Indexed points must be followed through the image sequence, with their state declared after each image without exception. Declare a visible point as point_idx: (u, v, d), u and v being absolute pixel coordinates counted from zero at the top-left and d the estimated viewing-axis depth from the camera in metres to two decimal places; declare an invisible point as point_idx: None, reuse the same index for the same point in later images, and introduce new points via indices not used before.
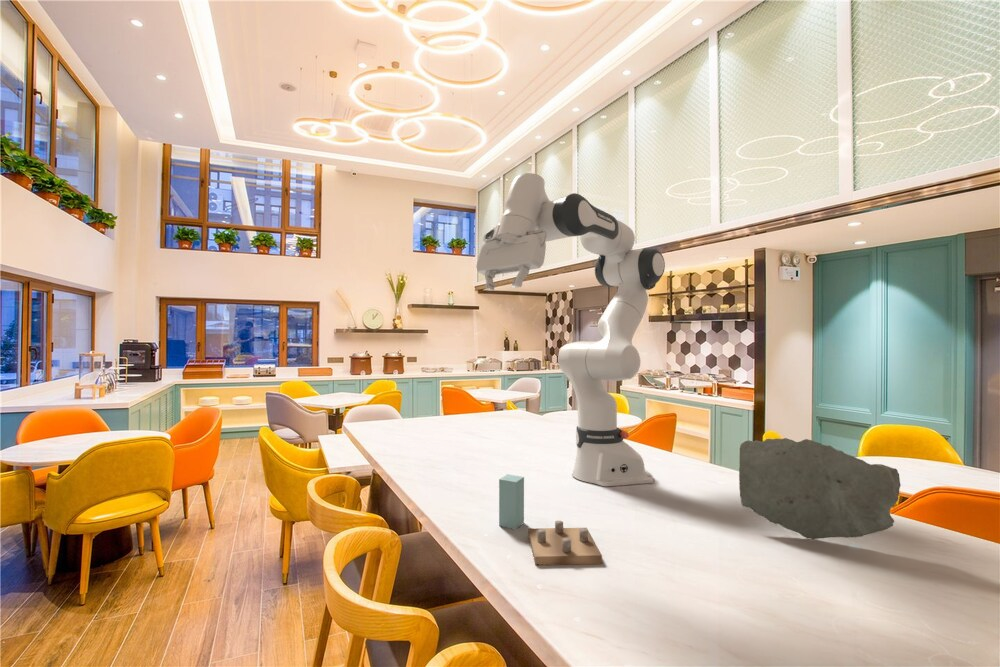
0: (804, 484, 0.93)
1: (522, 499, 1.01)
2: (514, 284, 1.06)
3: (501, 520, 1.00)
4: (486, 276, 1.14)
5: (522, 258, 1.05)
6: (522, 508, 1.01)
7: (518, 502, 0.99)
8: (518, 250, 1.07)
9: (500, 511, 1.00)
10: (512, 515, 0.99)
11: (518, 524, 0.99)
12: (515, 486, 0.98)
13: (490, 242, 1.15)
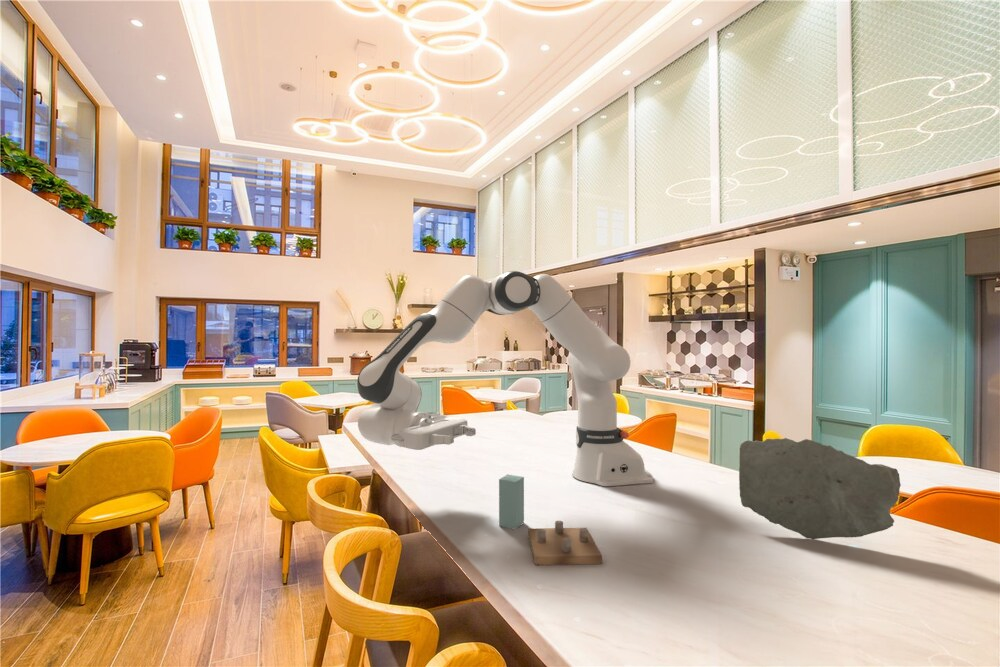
0: (804, 484, 0.93)
1: (522, 499, 1.01)
2: (451, 443, 1.02)
3: (501, 520, 1.00)
4: None
5: None
6: (522, 508, 1.01)
7: (518, 502, 0.99)
8: None
9: (500, 511, 1.00)
10: (512, 515, 0.99)
11: (518, 524, 0.99)
12: (515, 486, 0.98)
13: None
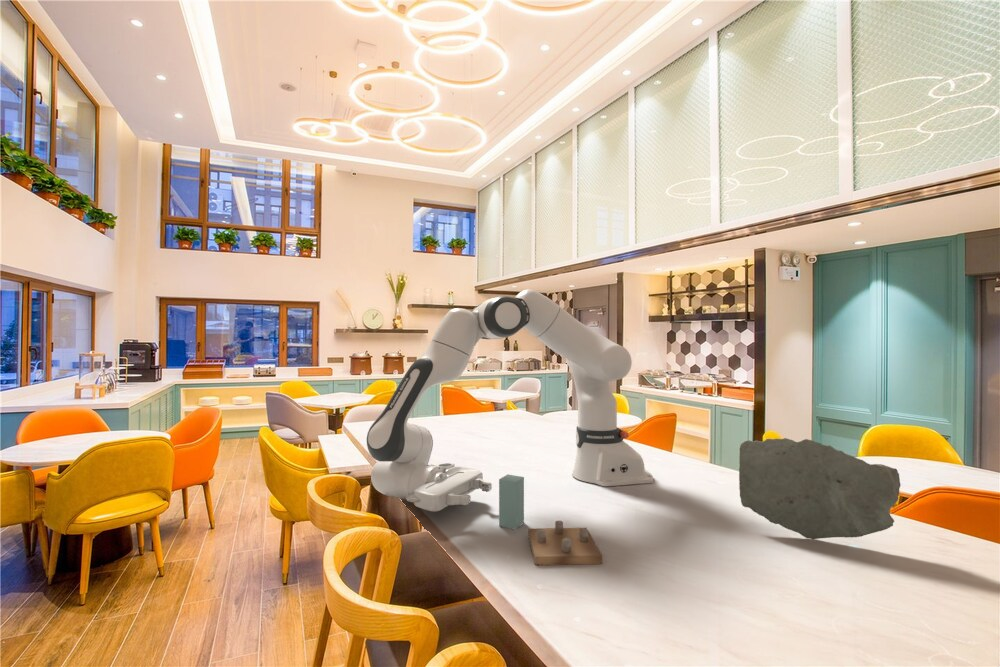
0: (804, 484, 0.93)
1: (522, 499, 1.01)
2: (468, 503, 1.01)
3: (501, 520, 1.00)
4: None
5: None
6: (522, 508, 1.01)
7: (518, 502, 0.99)
8: None
9: (500, 511, 1.00)
10: (512, 515, 0.99)
11: (518, 524, 0.99)
12: (515, 486, 0.98)
13: None
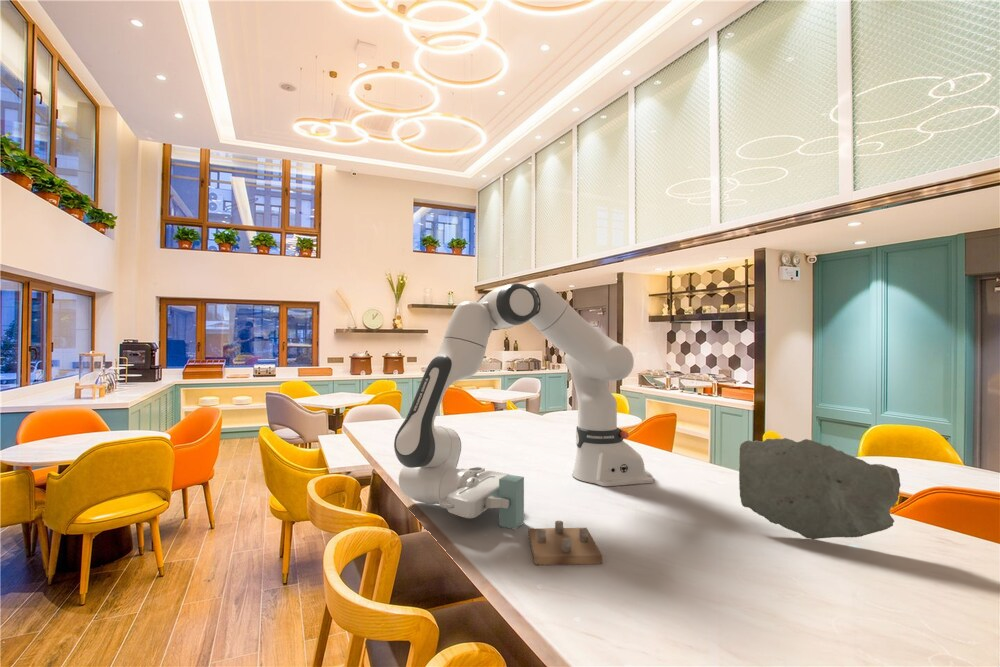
0: (804, 484, 0.93)
1: (522, 499, 1.01)
2: (508, 506, 0.98)
3: (501, 520, 1.00)
4: None
5: None
6: (522, 508, 1.01)
7: (518, 501, 0.99)
8: None
9: (500, 511, 1.00)
10: (512, 515, 0.99)
11: (518, 524, 0.99)
12: (515, 486, 0.98)
13: None
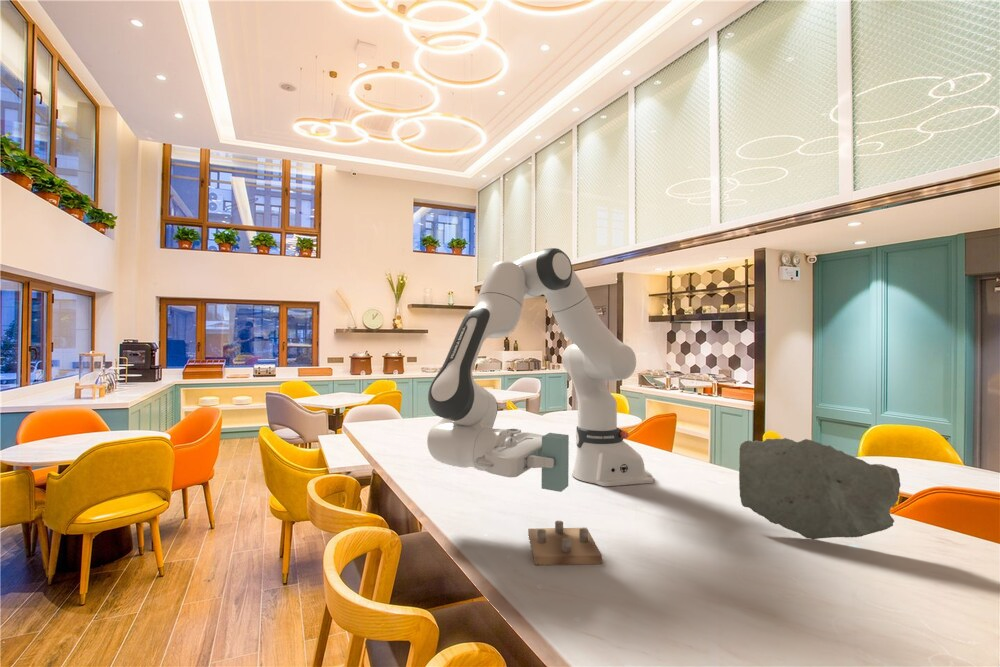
0: (804, 484, 0.93)
1: (567, 459, 0.91)
2: (553, 466, 0.88)
3: (544, 482, 0.90)
4: None
5: None
6: (567, 469, 0.91)
7: (563, 461, 0.89)
8: None
9: (543, 472, 0.90)
10: (556, 476, 0.88)
11: (563, 486, 0.89)
12: (560, 443, 0.88)
13: None
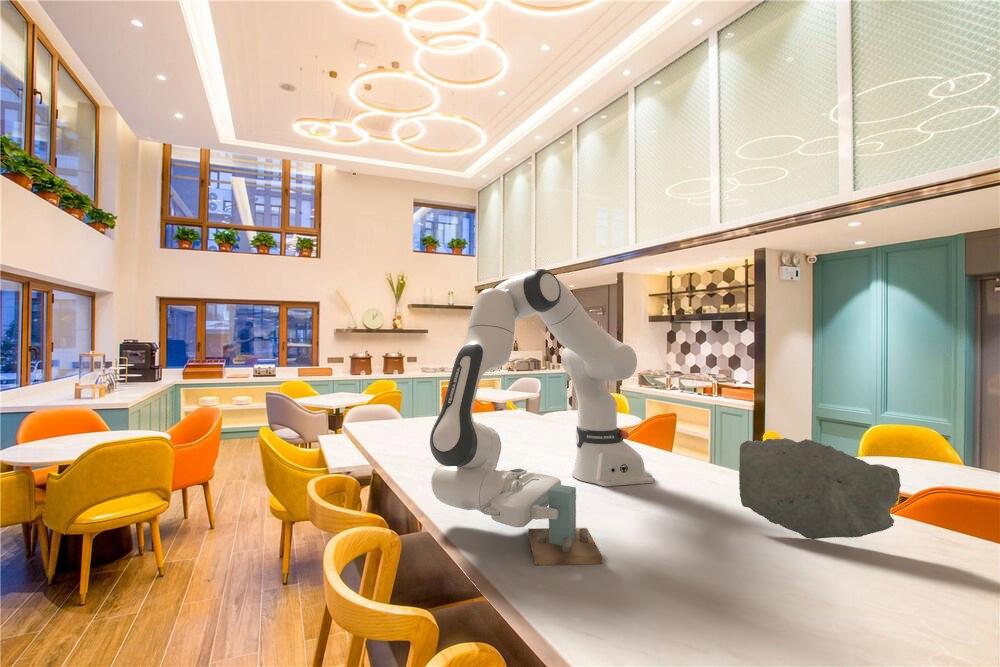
0: (804, 485, 0.93)
1: (574, 512, 0.90)
2: (557, 517, 0.85)
3: (551, 536, 0.88)
4: None
5: None
6: (574, 522, 0.90)
7: (570, 515, 0.88)
8: None
9: (550, 526, 0.88)
10: (564, 531, 0.87)
11: (571, 541, 0.88)
12: (568, 498, 0.87)
13: None
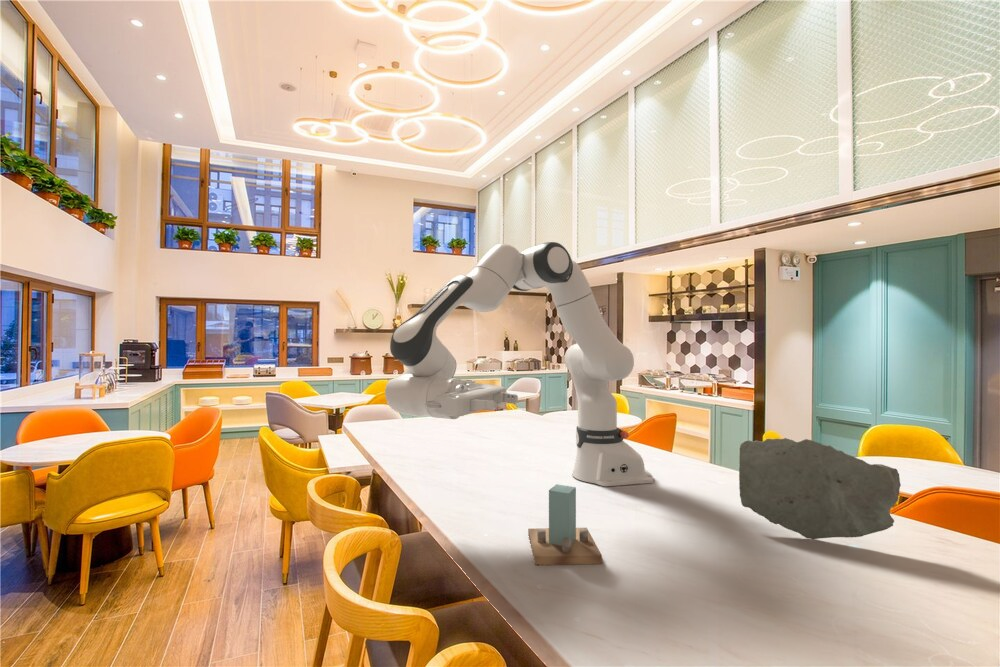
0: (804, 484, 0.93)
1: (574, 512, 0.90)
2: (494, 409, 0.91)
3: (551, 536, 0.88)
4: None
5: None
6: (574, 522, 0.90)
7: (570, 515, 0.88)
8: None
9: (550, 526, 0.88)
10: (564, 531, 0.87)
11: (571, 541, 0.88)
12: (568, 498, 0.87)
13: None
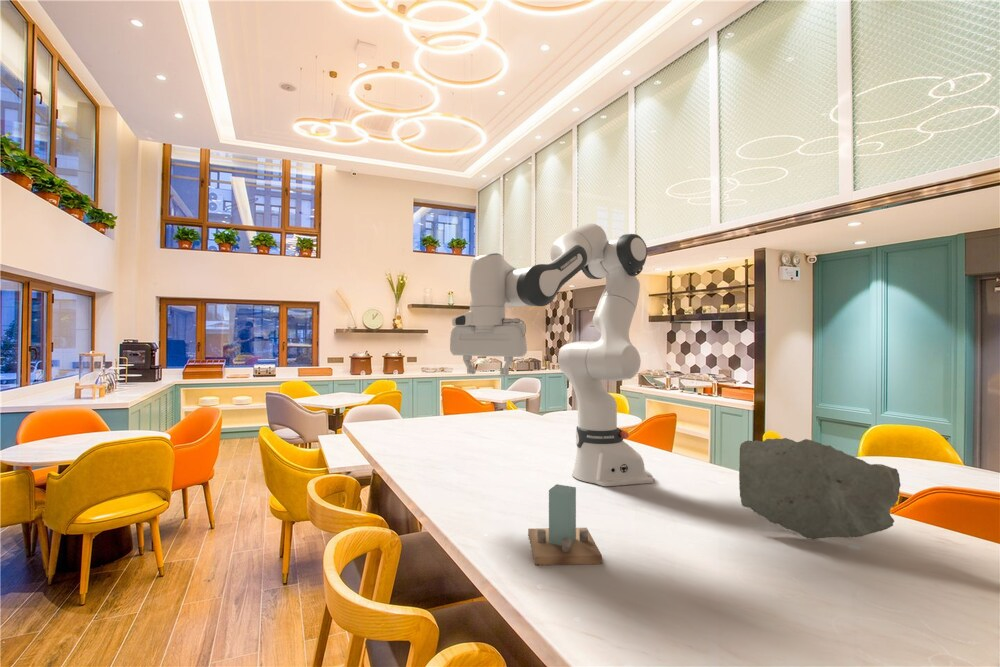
0: (804, 484, 0.93)
1: (574, 512, 0.90)
2: (503, 374, 1.13)
3: (551, 536, 0.88)
4: (465, 361, 1.18)
5: (507, 350, 1.11)
6: (574, 522, 0.90)
7: (570, 515, 0.88)
8: (500, 341, 1.12)
9: (550, 526, 0.88)
10: (564, 531, 0.87)
11: (571, 541, 0.88)
12: (568, 498, 0.87)
13: (463, 328, 1.16)
